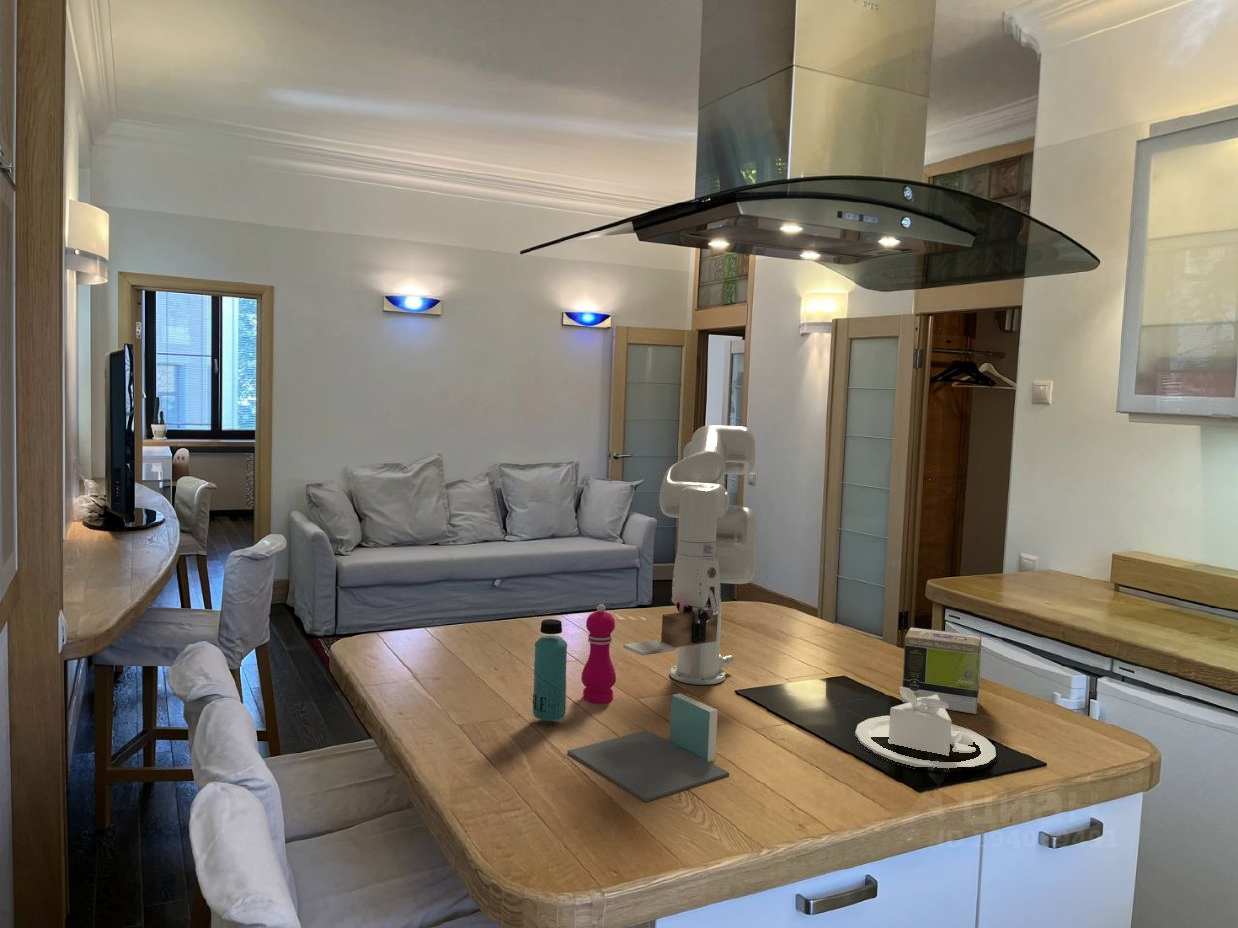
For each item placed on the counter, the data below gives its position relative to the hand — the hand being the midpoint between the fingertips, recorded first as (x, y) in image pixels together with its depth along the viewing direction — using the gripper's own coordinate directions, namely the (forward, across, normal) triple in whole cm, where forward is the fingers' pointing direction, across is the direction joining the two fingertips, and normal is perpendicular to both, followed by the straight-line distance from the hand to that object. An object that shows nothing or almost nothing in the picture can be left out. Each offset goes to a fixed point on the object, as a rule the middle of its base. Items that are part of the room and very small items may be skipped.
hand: (692, 639), depth 173 cm
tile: (+15, -15, +12) cm, 24 cm away
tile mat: (+15, -15, +22) cm, 31 cm away
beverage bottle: (+15, +10, +27) cm, 33 cm away
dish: (+16, -35, -28) cm, 47 cm away
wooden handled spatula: (+1, 0, +6) cm, 6 cm away
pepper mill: (+15, +16, +11) cm, 25 cm away
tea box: (+15, -22, -52) cm, 58 cm away
